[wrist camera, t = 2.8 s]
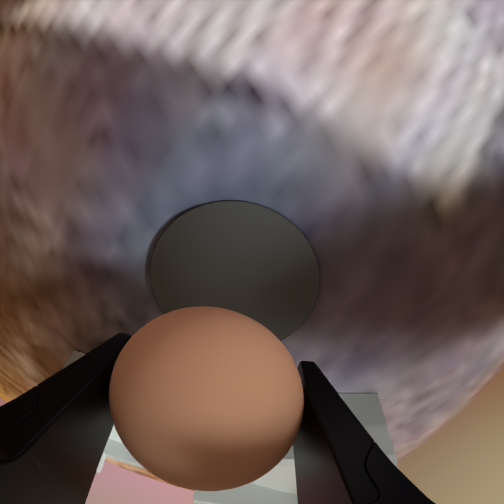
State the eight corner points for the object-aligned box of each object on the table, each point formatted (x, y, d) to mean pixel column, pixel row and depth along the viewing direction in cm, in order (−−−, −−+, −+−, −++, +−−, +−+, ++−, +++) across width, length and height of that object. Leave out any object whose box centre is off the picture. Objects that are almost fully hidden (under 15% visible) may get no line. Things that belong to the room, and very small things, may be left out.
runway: (377, 393, 16) (399, 472, 10) (330, 462, 19) (336, 522, 14) (74, 349, 15) (30, 419, 10) (103, 429, 19) (81, 485, 14)
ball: (313, 283, 9) (347, 442, 4) (280, 396, 11) (282, 518, 6) (138, 258, 8) (46, 388, 4) (149, 376, 11) (108, 489, 6)
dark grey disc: (335, 214, 11) (337, 217, 11) (298, 353, 14) (299, 357, 14) (153, 190, 11) (150, 192, 11) (155, 333, 14) (153, 336, 14)
